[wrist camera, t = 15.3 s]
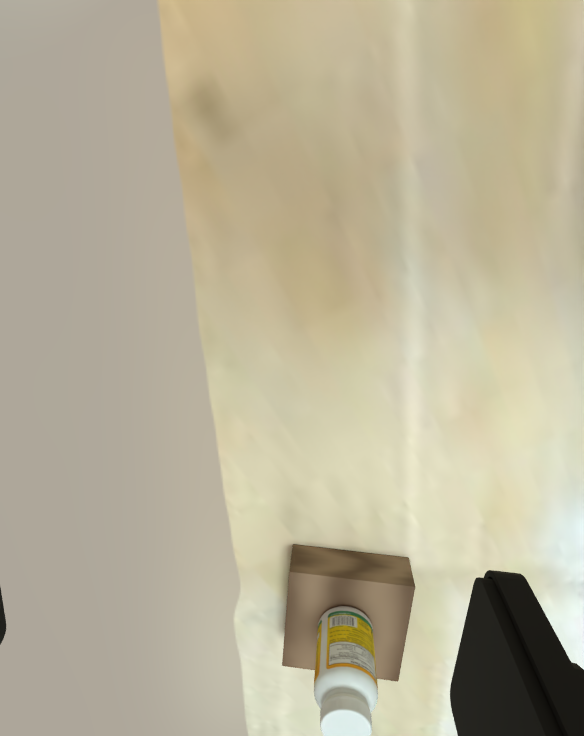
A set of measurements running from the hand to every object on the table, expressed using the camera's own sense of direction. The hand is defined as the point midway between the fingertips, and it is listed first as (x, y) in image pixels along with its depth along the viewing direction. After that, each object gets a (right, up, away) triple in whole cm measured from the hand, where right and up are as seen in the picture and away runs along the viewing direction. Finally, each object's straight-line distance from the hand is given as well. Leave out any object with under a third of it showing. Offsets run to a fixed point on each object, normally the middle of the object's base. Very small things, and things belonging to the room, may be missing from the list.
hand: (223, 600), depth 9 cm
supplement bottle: (+7, -21, +37) cm, 43 cm away
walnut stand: (+7, -20, +41) cm, 46 cm away
